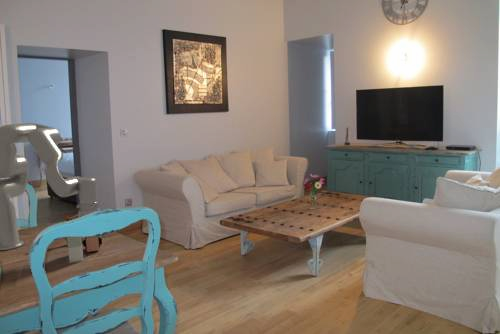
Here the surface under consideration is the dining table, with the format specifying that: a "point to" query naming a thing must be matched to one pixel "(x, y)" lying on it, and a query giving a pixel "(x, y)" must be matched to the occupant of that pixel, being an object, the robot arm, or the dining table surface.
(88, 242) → the terracotta brick
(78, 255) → the cream brick
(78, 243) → the sage brick
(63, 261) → the dining table surface
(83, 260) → the build mat
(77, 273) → the dining table surface
